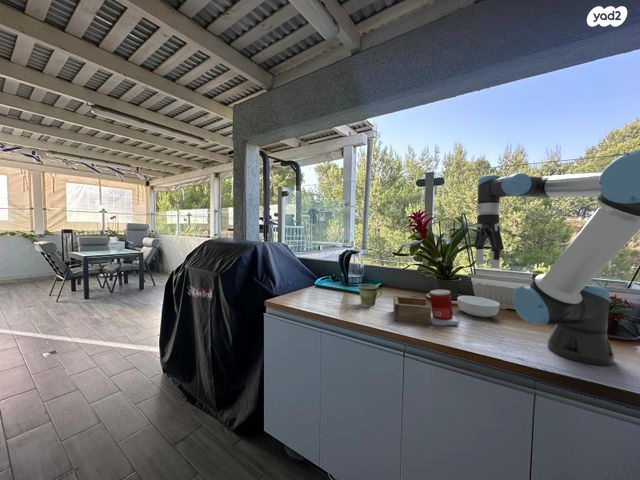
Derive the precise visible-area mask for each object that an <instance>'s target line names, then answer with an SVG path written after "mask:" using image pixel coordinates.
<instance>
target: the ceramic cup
mask: <svg viewBox="0 0 640 480" xmlns="http://www.w3.org/2000/svg"><path fill="white" fill-rule="evenodd" d="M358 291H359V296H360V304H361V306H362V307H364V308H371V307H373V306H375V305H376V300H377V299H378V298H379V297H381V296H382V294H383V292H382V290H381V289H379V286H378V285H375V284H371V283H369V284H368V283H360V284H359V285H358ZM378 292H379V293H380V294H379V295H378Z"/></svg>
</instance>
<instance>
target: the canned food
mask: <svg viewBox="0 0 640 480" xmlns="http://www.w3.org/2000/svg"><path fill="white" fill-rule="evenodd" d="M429 295H430V303H431V313H432V314H433V317H434V318H436V319H440V320H448V319H451V318H453V315H454V311H453V302H452V293H451V291H450V290H447V289H433V290H430V292H429Z"/></svg>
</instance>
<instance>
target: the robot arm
mask: <svg viewBox="0 0 640 480" xmlns="http://www.w3.org/2000/svg"><path fill="white" fill-rule="evenodd" d="M507 197H519V198H520V197H523V198H541V199H542V198H562V197H563V198H568V197H570V198H574V197H575V198H580V197H583V198H584V197H585V198H590V197H591V198H592V197H597V198H596V201H597V203H598V206H599V207H598V208H597V209H596V211H595V212H594V213H593V214H592V216H591V217H590V218H589V220H587V222H586V223H585V224H584V226H583V227H582V228H581V230H580V231H579V232H578V233H577V235H576V236H575V237H574V238H573V240H572V241H570V243H569V245H568V246H567V247H566V248H565V249H564V251H563V252H562V253H561V255H560V256H559V257H558V258H557V259H556V261H555V262H554V264H553V265H552V266H551V267H550V269H548V271H547V272H546V273H545V274H538V275H537V276H535V278H534V279H532V281H531V282H530V284H528V285H522V286H518V287H517V288H516V289H515V290H514V292H513V295H512V303H513V308H514V310H515V311H516V313H517V314H518V316H519V317H520V318H521V319H522V320H523V321H525V322H526V323H527V324H528V323H529V324H532V325H540V326H545V325H555V326H554V328H553V330H552V331H551V334H550V335H549V337H548V340H547V348H548V350H550V351H551V352H553V353H555V354H557V355H559V356H561V357H563V358H566V359H568V360H571V361H576V362H579V363H583V364H588V365H591V366H592V365H593V366H601V367H602V366H604V367H606V366H608V367H609V366H612V365H614V361H615V355H614V353H613V349H612V347H611V344H610V341H609V339H608V327H609V326H608V325H609V313H610V312H609V310H610V303H611V299H610V291H609V290H608V289H607V288H606V287H603V286H597V285H592V284H589V283H591V282H592V280H593V279H594V278H595V277H596V276H597V275H598V274H599V273H600V272H601V271H602V270H603V269H604V268H605V267H606V266H607V265H608V264H609V263H610V261H612V260H613V258H614V257H616V255H617V254H618V253H619V252H620V251H621V250H622V249H623V248H624V247H625V246H626V245H628V243H629V242H630V241H631V239H632V238H633V237H634V236H635V235H637V233H638V232H639V231H640V149H637V150H634V151H633V150H632V151H629V152H627V153H624V154H622V155H621V156H618V157H617V158H615V159H614V160H612V162H610V163H609V164H608V165H607V166H606V167H605V168H604V170H601V171H590V172H581V173H569V174H568V173H567V174H559V175H556V174H555V175H547V176H532V175H531V176H530V175H527V174H526V173H524V172H517V173H512V174H509V175H506V176H502V177H500V175H497V174H490V175H489V174H488V175H482V176H480V177H479V179H478V184H477V206H476V209H477V216H476V218H477V219H476V221H477V222H476V223H477V224H478V225H480V226H477V228H476V235H475V239H474V243H473V244H474V245H473V248H475V249H476V250H475V265H483V266H484V254H485V253H484V252H485V251H484V250H485V248H484V247H485V243H486V241H487V239H488V242H489V245H490V247H491V249H490V269H500V265H501V264H500V261H501V258H500V257H501V252H502V251H503V250H504V249H505V247H504V244H503V239H502V235H501V231H500V230H501V229H500V225H498V224H500V215H499V214H500V207H501V205H500V198H507Z"/></svg>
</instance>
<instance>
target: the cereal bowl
mask: <svg viewBox="0 0 640 480" xmlns="http://www.w3.org/2000/svg"><path fill="white" fill-rule="evenodd" d="M456 299H457V301H456V302H457V306H458V308H459V309H460V311H463V312H464V313H465V314H468V315H471V316H474V317H480V318H490V317H493V316H495V315H497V314H498V313H499V311H500V307H501V305H500V303H499V302H498V301H497V300H496V301H495V300H493V299H489V298H486V297H481V296H475V295H474V296H473V295H461V296H458V297H457V298H456Z"/></svg>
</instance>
